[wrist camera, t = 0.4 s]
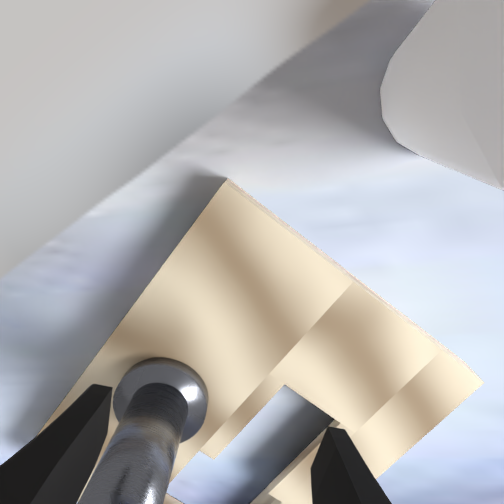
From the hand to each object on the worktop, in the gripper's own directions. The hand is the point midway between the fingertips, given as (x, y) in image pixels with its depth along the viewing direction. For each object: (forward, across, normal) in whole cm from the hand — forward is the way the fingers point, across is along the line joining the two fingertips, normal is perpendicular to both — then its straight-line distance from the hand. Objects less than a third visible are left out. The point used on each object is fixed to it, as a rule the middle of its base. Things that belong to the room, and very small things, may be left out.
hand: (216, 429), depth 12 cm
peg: (+7, +3, +6) cm, 10 cm away
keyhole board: (+9, -2, +8) cm, 12 cm away
